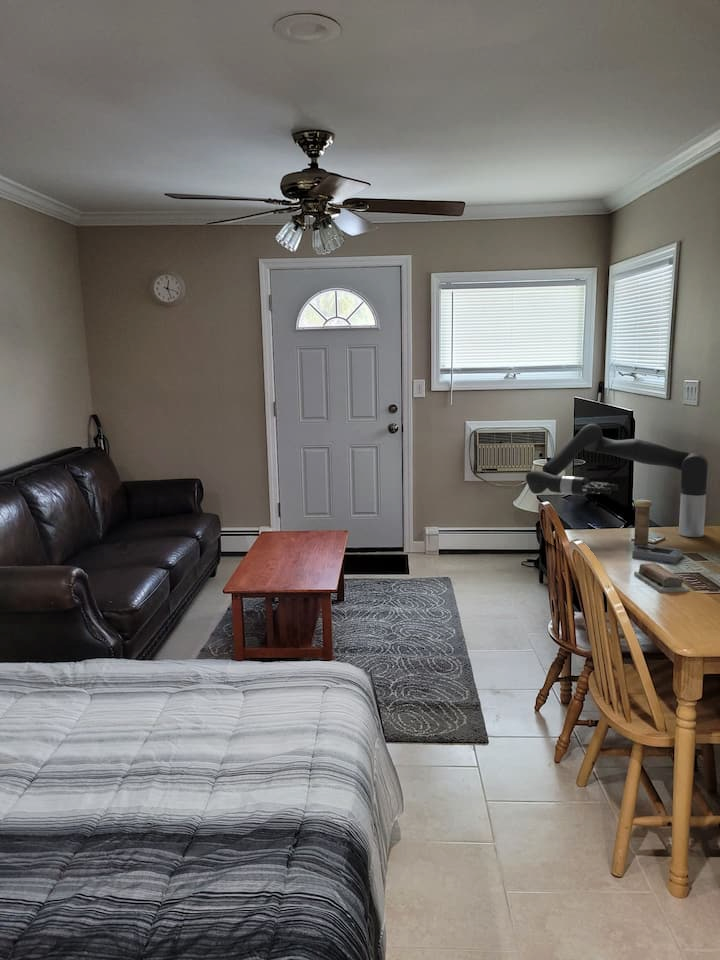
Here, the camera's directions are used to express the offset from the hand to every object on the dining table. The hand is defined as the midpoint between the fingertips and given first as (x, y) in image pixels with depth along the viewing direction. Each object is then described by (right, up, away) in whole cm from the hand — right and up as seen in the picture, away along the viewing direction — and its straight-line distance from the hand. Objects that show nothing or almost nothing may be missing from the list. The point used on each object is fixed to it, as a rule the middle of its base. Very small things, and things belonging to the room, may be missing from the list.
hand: (614, 489), depth 269 cm
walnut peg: (+9, -22, -3) cm, 24 cm away
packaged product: (-3, -30, -48) cm, 57 cm away
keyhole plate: (+9, -24, -19) cm, 32 cm away
